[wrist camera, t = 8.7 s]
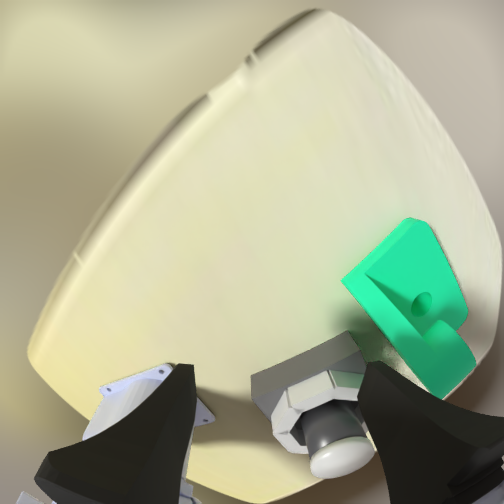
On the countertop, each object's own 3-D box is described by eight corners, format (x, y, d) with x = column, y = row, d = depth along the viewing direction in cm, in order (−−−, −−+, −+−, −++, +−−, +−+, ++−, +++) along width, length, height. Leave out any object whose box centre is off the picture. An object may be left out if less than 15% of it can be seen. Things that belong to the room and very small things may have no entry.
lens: (343, 422, 21) (363, 471, 15) (294, 428, 20) (306, 482, 15) (356, 386, 19) (383, 438, 14) (301, 392, 19) (318, 451, 13)
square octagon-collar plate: (291, 428, 24) (297, 465, 19) (250, 375, 22) (252, 416, 17) (371, 392, 23) (389, 426, 19) (347, 330, 21) (369, 365, 17)
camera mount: (454, 304, 22) (521, 353, 12) (401, 357, 23) (454, 426, 13) (404, 210, 19) (500, 236, 9) (336, 275, 20) (401, 349, 10)
